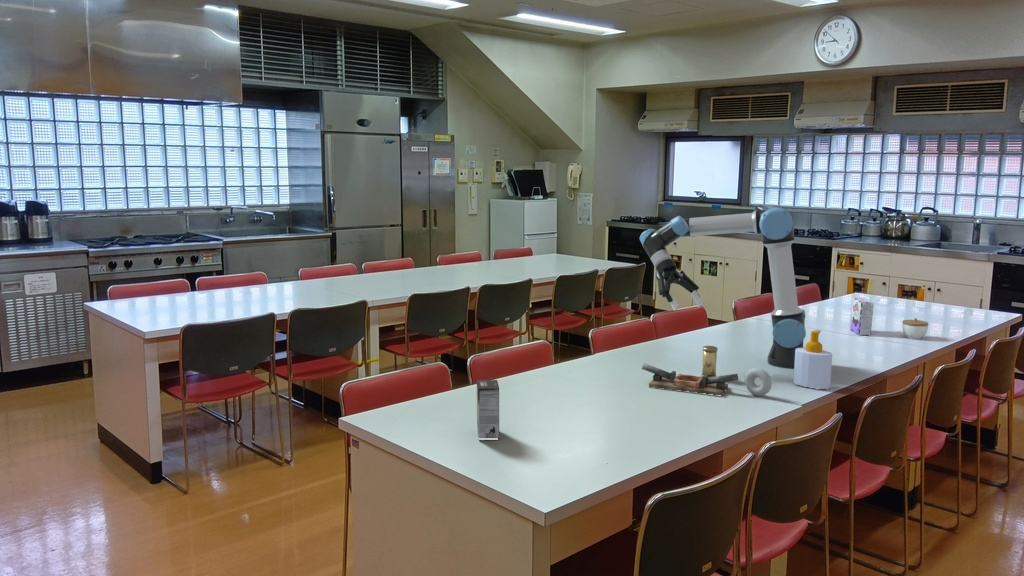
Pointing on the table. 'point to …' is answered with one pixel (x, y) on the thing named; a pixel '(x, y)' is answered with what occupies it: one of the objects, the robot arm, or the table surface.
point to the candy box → (861, 316)
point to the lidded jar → (915, 328)
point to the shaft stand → (689, 381)
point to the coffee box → (488, 408)
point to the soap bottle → (813, 364)
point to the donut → (764, 379)
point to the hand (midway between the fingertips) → (689, 307)
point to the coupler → (709, 361)
